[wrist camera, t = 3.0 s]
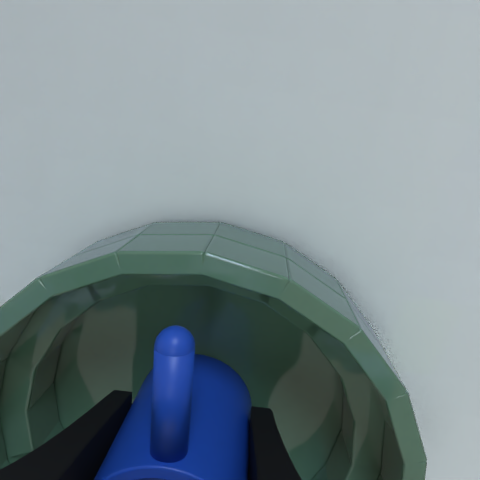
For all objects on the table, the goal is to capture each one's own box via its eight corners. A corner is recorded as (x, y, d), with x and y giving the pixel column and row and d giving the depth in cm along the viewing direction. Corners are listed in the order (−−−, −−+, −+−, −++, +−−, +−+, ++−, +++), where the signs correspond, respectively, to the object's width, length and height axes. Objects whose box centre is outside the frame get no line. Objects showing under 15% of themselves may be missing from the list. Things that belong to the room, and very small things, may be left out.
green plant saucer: (242, 589, 17) (234, 721, 13) (-34, 421, 16) (-131, 513, 12) (463, 365, 14) (538, 451, 10) (141, 137, 13) (86, 136, 9)
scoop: (246, 457, 15) (235, 613, 10) (138, 444, 15) (77, 590, 10) (267, 272, 13) (266, 352, 8) (144, 259, 13) (73, 330, 8)
